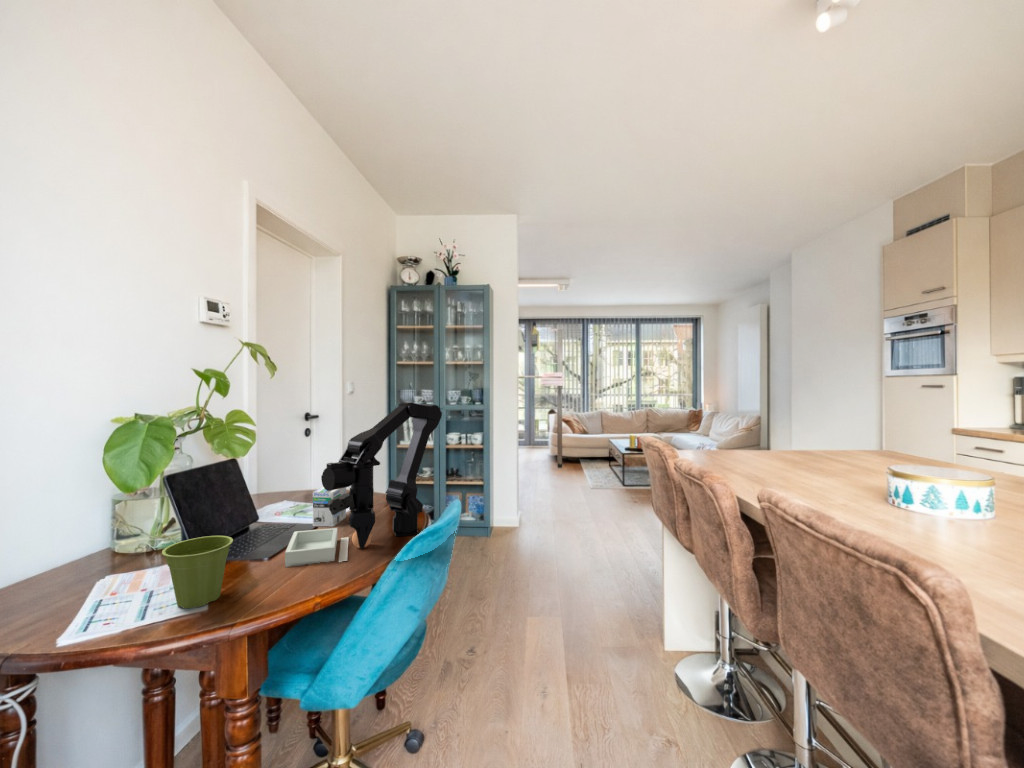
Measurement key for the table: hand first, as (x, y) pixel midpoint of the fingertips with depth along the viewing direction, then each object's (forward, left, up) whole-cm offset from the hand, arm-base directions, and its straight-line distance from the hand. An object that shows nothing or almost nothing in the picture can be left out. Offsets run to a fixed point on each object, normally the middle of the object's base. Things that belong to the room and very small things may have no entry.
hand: (361, 541), depth 121 cm
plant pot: (+32, +21, -2) cm, 38 cm away
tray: (+12, 0, -2) cm, 12 cm away
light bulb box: (+10, -27, -2) cm, 29 cm away
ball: (0, 0, +1) cm, 1 cm away
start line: (+5, 0, -2) cm, 5 cm away
